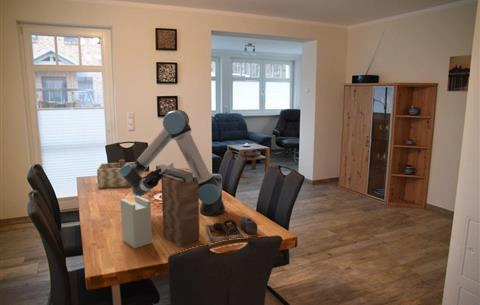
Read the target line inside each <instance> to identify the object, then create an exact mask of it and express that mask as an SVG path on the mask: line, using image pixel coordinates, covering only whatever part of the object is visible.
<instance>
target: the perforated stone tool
mask: <svg viewBox="0 0 480 305" xmlns="http://www.w3.org/2000/svg"><path fill="white" fill-rule="evenodd" d="M239 224H240V227H241V228H242V229H243V230H244V231H245V232H246V233H248V234H256V233H257V232H258V223H256V221H255V220H253V219H252V218H250V217H247V216H242V217H241V218H240V220H239Z"/></svg>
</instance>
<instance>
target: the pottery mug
mask: <svg viewBox="0 0 480 305" xmlns="http://www.w3.org/2000/svg"><path fill="white" fill-rule="evenodd" d="M227 223H232V224H234V225H235V228H234V229H229V227H228V226H226V224H227ZM212 225H213V227H214V229H215V230H216V231H215V232H217V233H218V234H220V233H221V231H224V232H225V233H226V234H225V236H233V235H235V234H237V232H236V231H237V226H238V224H237V223H236V221H235V220H232V219H230V218H229V219H224V220H223V221H222V222H214V224H212ZM216 226H217V227H218V228H217V227H216Z"/></svg>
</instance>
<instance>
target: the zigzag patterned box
mask: <svg viewBox="0 0 480 305" xmlns="http://www.w3.org/2000/svg"><path fill="white" fill-rule="evenodd" d="M134 162H135V161H133V162H132V161H131V162H125V165H126V164H127V163H130V164H131V165H133V164H134ZM120 169H121V168H120V163H119V162H109V163H108V162H106V163H100V165H99V166H98V168H97V169H96V174H97V187H98V189H100V188H103V189H104V188H117V187H118V188H119V187H131V185H130V184H129V183H128V182H127V181H126V180H125V179H124V178H123V177H122V175H121V174H120V173H119V170H120Z"/></svg>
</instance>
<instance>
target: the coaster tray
mask: <svg viewBox="0 0 480 305" xmlns="http://www.w3.org/2000/svg"><path fill="white" fill-rule="evenodd" d="M213 225H214V224H207V225H205V230H206V234H207V237H208V239H209V242H210V244H211V243H215V242H219V241H223V240H229V239H237V238H243V239H244V234H243V232H242V230H241V229H240V228H239V225H237V231H236V234H233V235H230V236H226V235H225V236H224V235H223V236H214V237H213V236H212V232H214V231H215V232H217V231H216V230H215V229H214V227H213ZM226 226H228V227H229V229H228V230H230V229H234V228H235V225H234V224H232V223H231V222H229V223H227V224H226ZM216 227H217V226H216ZM217 228H218V227H217Z"/></svg>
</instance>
